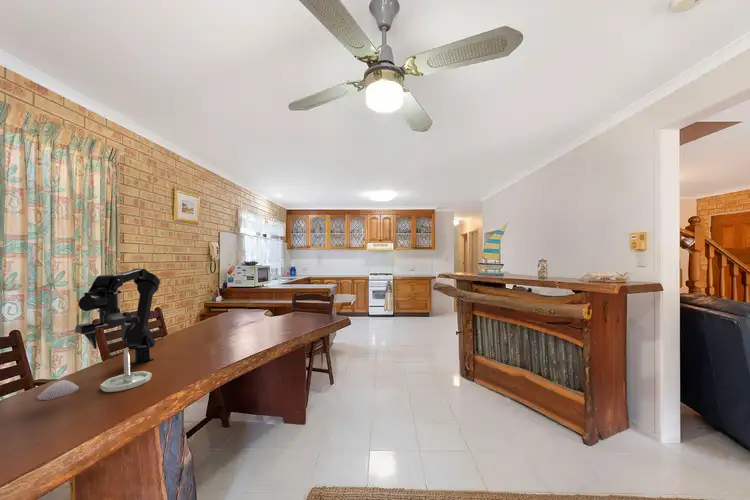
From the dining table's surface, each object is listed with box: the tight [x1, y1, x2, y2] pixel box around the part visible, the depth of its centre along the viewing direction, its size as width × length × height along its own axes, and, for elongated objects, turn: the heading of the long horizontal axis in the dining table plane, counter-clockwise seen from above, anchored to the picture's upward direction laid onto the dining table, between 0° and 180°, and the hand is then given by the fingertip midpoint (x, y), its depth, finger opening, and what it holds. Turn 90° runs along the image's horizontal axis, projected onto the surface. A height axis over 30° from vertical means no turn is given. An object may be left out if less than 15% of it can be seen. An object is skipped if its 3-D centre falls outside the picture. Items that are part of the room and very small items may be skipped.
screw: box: [119, 346, 135, 383], centre depth 116 cm, size 13×5×5 cm
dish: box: [99, 370, 153, 393], centre depth 116 cm, size 14×14×2 cm
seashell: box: [36, 379, 80, 401], centre depth 109 cm, size 10×6×10 cm
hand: (109, 345), depth 122 cm, fingers open, 9 cm apart
